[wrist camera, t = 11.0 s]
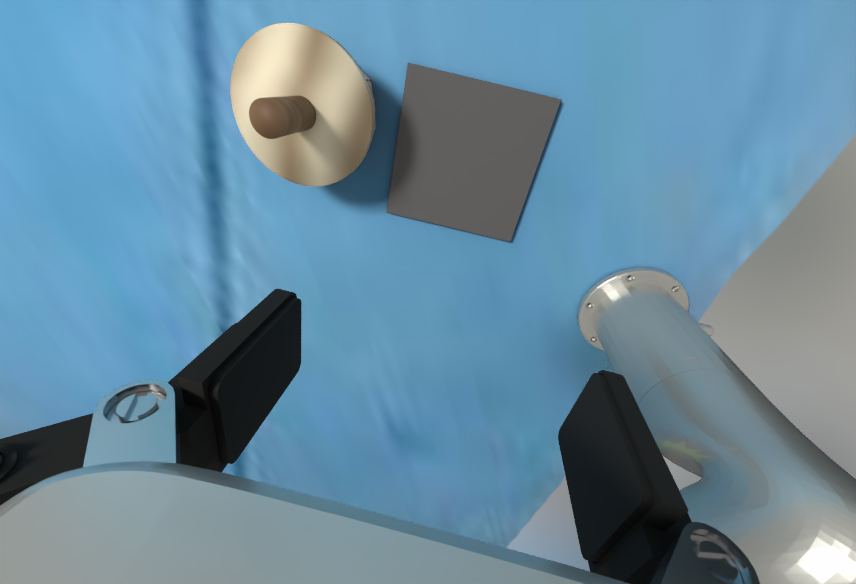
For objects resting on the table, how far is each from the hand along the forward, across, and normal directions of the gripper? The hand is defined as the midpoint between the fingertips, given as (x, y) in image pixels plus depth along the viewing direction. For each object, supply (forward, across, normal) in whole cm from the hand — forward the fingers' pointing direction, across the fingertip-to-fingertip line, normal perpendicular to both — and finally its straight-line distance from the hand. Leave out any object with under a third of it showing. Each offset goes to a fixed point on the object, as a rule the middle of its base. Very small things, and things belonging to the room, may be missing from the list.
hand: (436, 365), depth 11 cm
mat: (+31, +1, -1) cm, 31 cm away
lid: (+26, +16, -3) cm, 31 cm away
